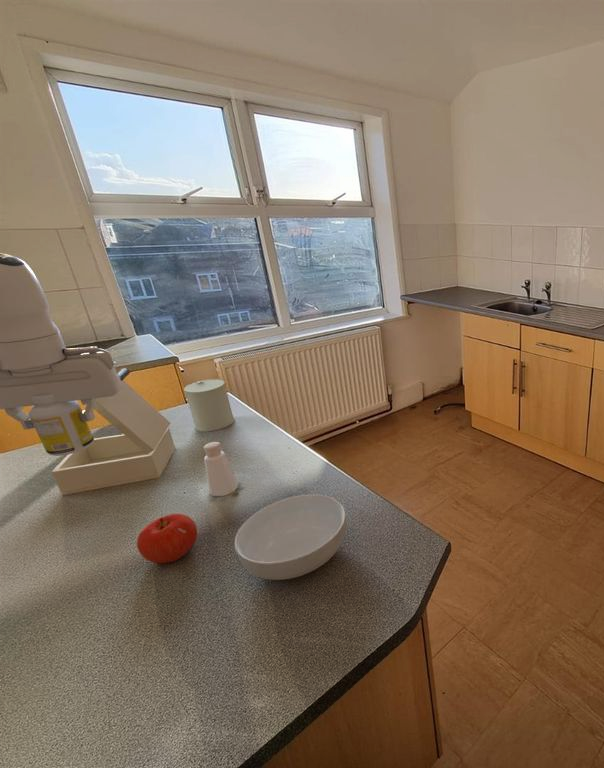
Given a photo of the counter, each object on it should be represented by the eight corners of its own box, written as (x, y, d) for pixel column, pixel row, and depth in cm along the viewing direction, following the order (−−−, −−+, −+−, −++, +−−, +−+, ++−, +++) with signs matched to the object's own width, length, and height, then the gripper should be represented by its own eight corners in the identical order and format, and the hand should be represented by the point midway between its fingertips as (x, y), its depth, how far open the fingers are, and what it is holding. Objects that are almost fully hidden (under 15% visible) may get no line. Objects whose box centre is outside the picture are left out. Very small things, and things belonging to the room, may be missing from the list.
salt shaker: (207, 499, 89) (192, 453, 84) (211, 485, 93) (198, 441, 89) (237, 493, 91) (224, 448, 87) (240, 479, 95) (228, 436, 91)
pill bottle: (94, 436, 85) (72, 381, 80) (96, 448, 80) (73, 392, 76) (47, 447, 80) (21, 390, 76) (46, 461, 76) (19, 402, 72)
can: (225, 413, 125) (215, 374, 120) (240, 422, 120) (230, 382, 115) (189, 425, 118) (176, 384, 113) (203, 435, 113) (191, 393, 108)
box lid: (74, 393, 84) (102, 378, 85) (102, 370, 95) (127, 357, 96) (147, 454, 93) (172, 439, 94) (164, 426, 104) (187, 413, 105)
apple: (213, 541, 78) (201, 505, 75) (172, 576, 71) (157, 538, 68) (176, 534, 79) (163, 499, 76) (132, 567, 72) (116, 530, 69)
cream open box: (62, 495, 89) (51, 472, 87) (89, 462, 101) (80, 440, 98) (159, 477, 95) (151, 455, 93) (175, 448, 107) (168, 427, 105)
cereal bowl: (285, 614, 64) (276, 579, 62) (222, 570, 72) (211, 537, 69) (370, 543, 78) (366, 512, 75) (310, 512, 86) (304, 483, 83)
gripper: (113, 340, 80) (137, 407, 85) (-41, 352, 72) (-4, 425, 77) (100, 350, 74) (126, 421, 80) (-69, 365, 67) (-27, 442, 72)
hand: (60, 423), depth 78 cm, fingers closed on pill bottle, 6 cm apart
